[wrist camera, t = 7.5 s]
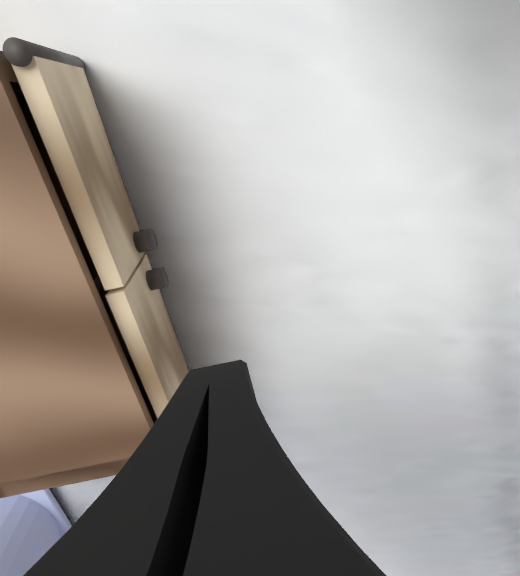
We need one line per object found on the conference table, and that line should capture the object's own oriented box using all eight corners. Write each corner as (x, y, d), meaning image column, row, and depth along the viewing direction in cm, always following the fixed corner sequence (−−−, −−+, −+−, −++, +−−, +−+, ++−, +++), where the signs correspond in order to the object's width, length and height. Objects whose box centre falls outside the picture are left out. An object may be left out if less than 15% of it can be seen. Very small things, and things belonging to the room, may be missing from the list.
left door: (210, 388, 22) (203, 454, 18) (185, 393, 22) (173, 460, 18) (162, 248, 19) (141, 289, 14) (133, 255, 19) (103, 298, 15)
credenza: (209, 384, 22) (202, 457, 17) (40, 420, 22) (-10, 500, 18) (99, 50, 15) (41, 27, 11) (-139, 108, 16) (-291, 109, 11)
